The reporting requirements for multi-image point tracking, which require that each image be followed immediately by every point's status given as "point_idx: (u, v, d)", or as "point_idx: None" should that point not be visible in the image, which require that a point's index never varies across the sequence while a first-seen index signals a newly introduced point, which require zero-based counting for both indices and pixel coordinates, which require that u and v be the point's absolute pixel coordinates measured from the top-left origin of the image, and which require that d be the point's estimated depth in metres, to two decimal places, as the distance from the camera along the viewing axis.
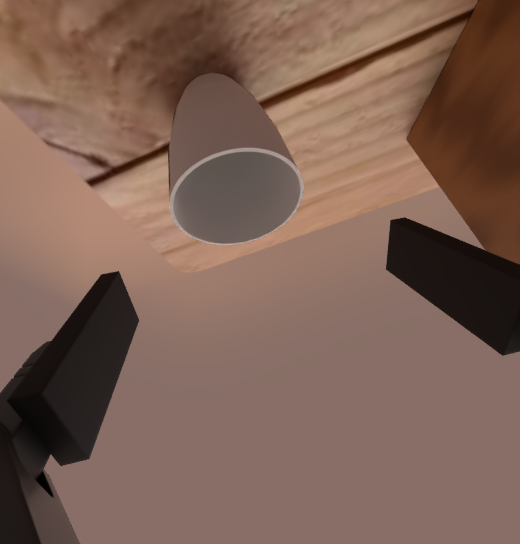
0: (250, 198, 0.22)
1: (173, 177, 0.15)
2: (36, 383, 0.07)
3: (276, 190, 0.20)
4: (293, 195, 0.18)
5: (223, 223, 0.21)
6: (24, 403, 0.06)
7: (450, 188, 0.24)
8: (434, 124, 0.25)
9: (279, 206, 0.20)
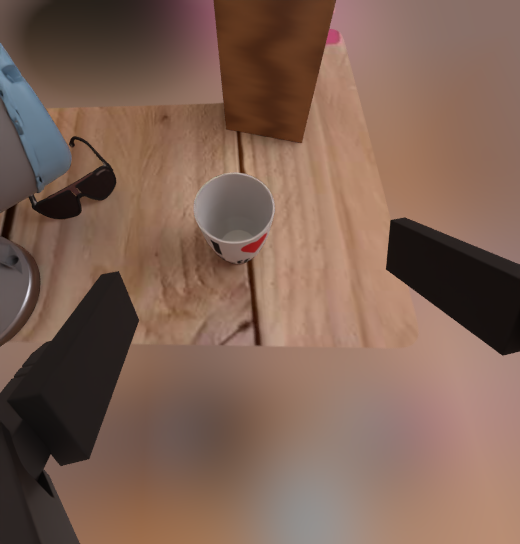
0: (267, 218, 0.31)
1: (204, 234, 0.27)
2: (36, 383, 0.07)
3: (259, 198, 0.31)
4: (249, 181, 0.29)
5: None
6: (24, 403, 0.06)
7: (306, 96, 0.36)
8: (283, 127, 0.41)
9: (261, 193, 0.30)
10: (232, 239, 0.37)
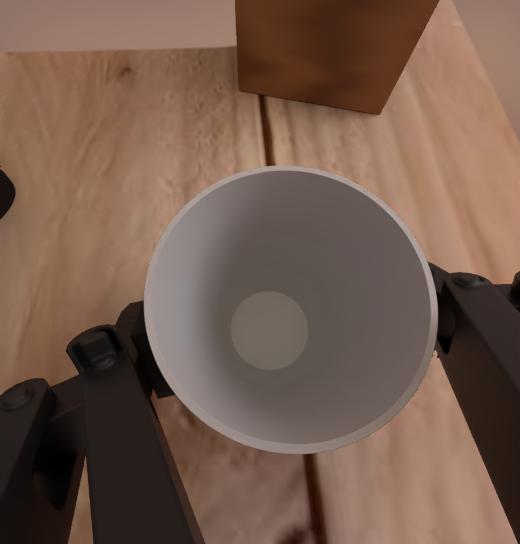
0: (366, 293, 0.11)
1: None
2: None
3: (343, 239, 0.11)
4: (326, 193, 0.10)
5: (388, 354, 0.09)
6: (142, 339, 0.08)
7: None
8: (351, 82, 0.21)
9: (362, 227, 0.10)
10: (257, 313, 0.17)
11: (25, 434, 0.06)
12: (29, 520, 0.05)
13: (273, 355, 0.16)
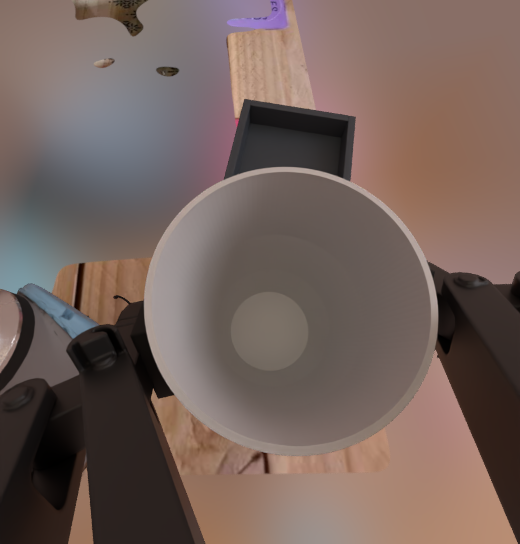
0: (366, 294, 0.11)
1: None
2: None
3: (343, 240, 0.11)
4: (326, 194, 0.10)
5: (388, 355, 0.09)
6: (142, 339, 0.08)
7: None
8: None
9: (362, 228, 0.10)
10: (257, 313, 0.17)
11: (25, 434, 0.06)
12: (29, 520, 0.05)
13: (273, 356, 0.16)
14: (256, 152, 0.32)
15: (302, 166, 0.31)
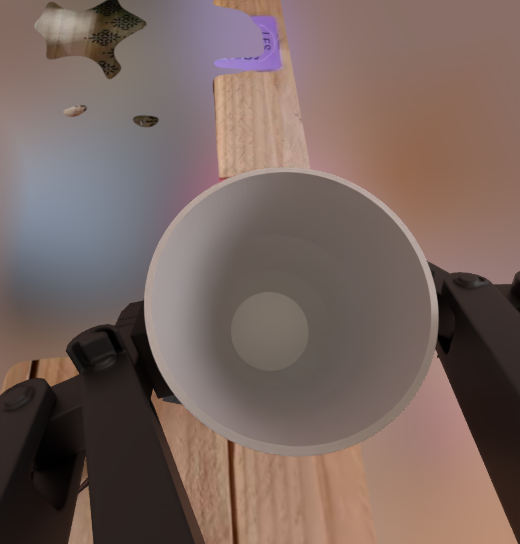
0: (366, 294, 0.11)
1: None
2: None
3: (344, 241, 0.11)
4: (326, 194, 0.10)
5: (388, 355, 0.09)
6: (142, 339, 0.08)
7: None
8: None
9: (362, 228, 0.10)
10: (257, 313, 0.17)
11: (25, 434, 0.06)
12: (29, 520, 0.05)
13: (273, 356, 0.16)
14: None
15: None
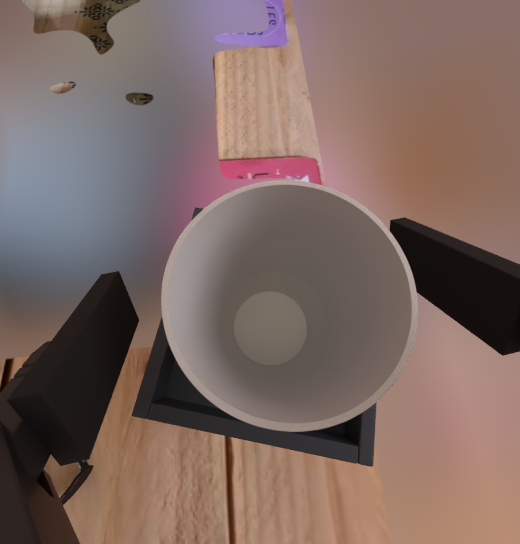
0: (358, 294, 0.12)
1: None
2: (36, 383, 0.07)
3: (338, 245, 0.12)
4: (322, 204, 0.11)
5: (376, 348, 0.10)
6: (24, 403, 0.06)
7: None
8: None
9: (354, 234, 0.11)
10: (258, 311, 0.18)
11: None
12: None
13: (273, 351, 0.18)
14: None
15: None
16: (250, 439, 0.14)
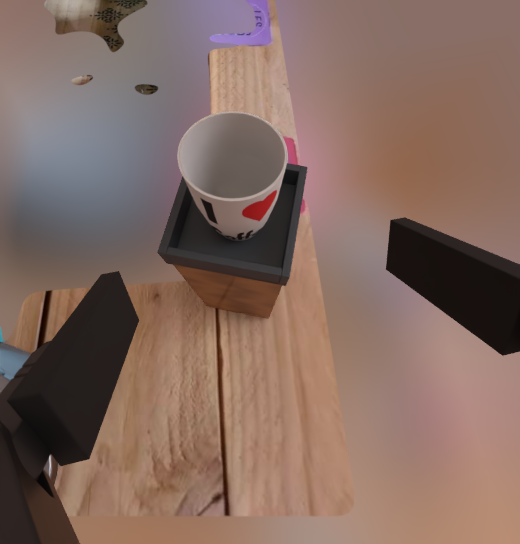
0: (276, 177, 0.24)
1: (192, 190, 0.20)
2: (36, 383, 0.07)
3: (265, 150, 0.24)
4: (252, 124, 0.22)
5: None
6: (24, 403, 0.06)
7: (266, 310, 0.45)
8: (251, 313, 0.50)
9: (269, 140, 0.22)
10: None
11: None
12: None
13: None
14: None
15: None
16: (222, 264, 0.26)
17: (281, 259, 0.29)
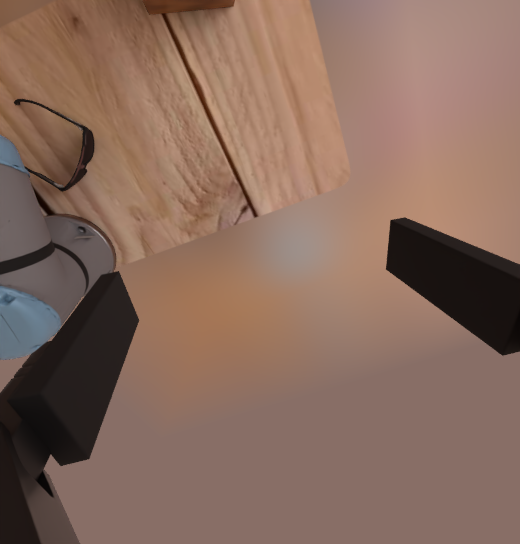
0: None
1: None
2: (36, 383, 0.07)
3: None
4: None
5: None
6: (24, 403, 0.06)
7: None
8: (211, 1, 0.37)
9: None
10: None
11: None
12: None
13: None
14: None
15: None
16: None
17: None
